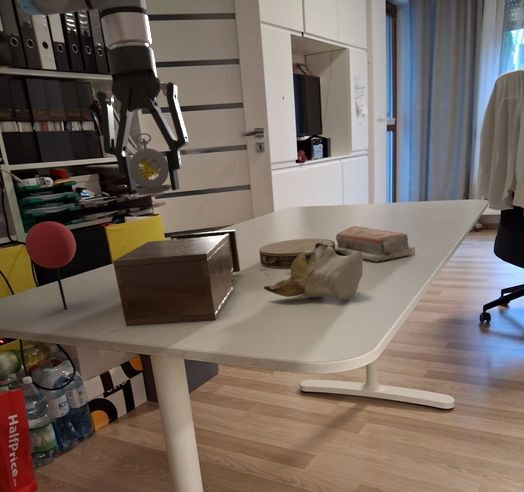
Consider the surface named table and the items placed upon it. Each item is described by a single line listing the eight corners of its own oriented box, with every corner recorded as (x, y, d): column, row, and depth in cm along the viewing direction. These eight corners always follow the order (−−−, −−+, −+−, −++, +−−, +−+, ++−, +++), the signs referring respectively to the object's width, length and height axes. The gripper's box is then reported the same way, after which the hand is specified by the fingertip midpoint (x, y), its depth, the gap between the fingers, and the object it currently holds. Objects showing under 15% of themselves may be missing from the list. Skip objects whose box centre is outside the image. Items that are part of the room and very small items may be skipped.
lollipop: (69, 315, 87) (47, 224, 81) (33, 315, 90) (10, 226, 84) (97, 302, 93) (79, 217, 88) (63, 302, 96) (43, 219, 91)
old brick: (417, 230, 102) (375, 238, 98) (417, 254, 104) (376, 263, 100) (363, 223, 117) (325, 229, 114) (363, 244, 119) (326, 252, 115)
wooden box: (157, 296, 93) (147, 241, 89) (233, 291, 91) (226, 235, 87) (125, 325, 78) (112, 261, 75) (215, 320, 76) (206, 253, 73)
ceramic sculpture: (344, 247, 71) (255, 252, 80) (350, 308, 74) (263, 306, 82) (375, 234, 79) (291, 239, 88) (379, 289, 82) (297, 289, 90)
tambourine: (339, 263, 103) (339, 248, 102) (259, 271, 104) (258, 256, 103) (331, 249, 118) (330, 236, 117) (261, 256, 119) (260, 243, 117)
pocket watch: (159, 190, 100) (149, 134, 96) (185, 189, 94) (175, 129, 90) (121, 196, 95) (109, 138, 91) (146, 196, 89) (134, 133, 85)
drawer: (185, 268, 109) (179, 230, 106) (244, 264, 107) (240, 225, 105) (156, 294, 90) (148, 249, 88) (227, 289, 89) (221, 243, 86)
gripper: (194, 44, 88) (212, 184, 96) (81, 60, 91) (109, 195, 99) (183, 35, 81) (204, 187, 90) (61, 53, 84) (93, 199, 92)
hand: (154, 191), depth 94 cm, fingers closed on pocket watch, 7 cm apart
